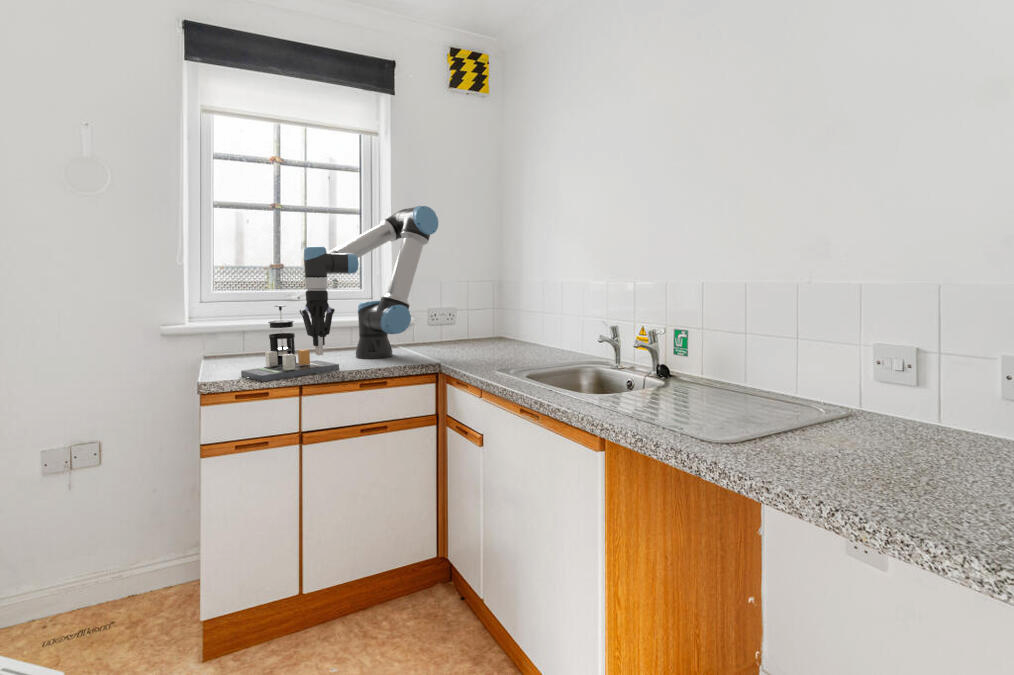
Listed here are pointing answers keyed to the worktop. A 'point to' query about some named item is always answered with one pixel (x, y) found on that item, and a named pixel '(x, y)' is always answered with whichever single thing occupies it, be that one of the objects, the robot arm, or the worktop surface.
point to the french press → (282, 337)
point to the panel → (289, 374)
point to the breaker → (303, 357)
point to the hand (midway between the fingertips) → (319, 354)
